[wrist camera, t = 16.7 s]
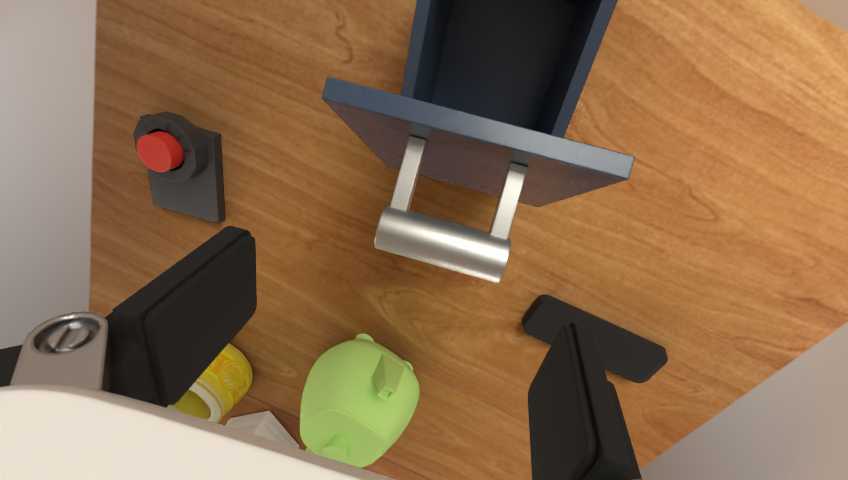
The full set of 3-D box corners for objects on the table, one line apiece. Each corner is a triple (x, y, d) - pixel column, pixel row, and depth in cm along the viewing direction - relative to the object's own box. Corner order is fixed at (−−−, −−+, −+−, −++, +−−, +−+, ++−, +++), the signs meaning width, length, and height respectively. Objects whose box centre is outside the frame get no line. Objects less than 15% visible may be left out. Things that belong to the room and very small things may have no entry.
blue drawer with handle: (326, 75, 13) (285, 228, 14) (636, 156, 13) (588, 315, 13) (389, 154, 27) (368, 230, 27) (541, 196, 26) (518, 273, 26)
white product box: (228, 416, 63) (156, 516, 50) (270, 408, 60) (203, 512, 47) (260, 452, 66) (200, 554, 54) (301, 446, 63) (247, 554, 50)
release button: (148, 126, 38) (133, 130, 36) (182, 136, 38) (168, 140, 36) (153, 161, 40) (139, 166, 38) (186, 171, 39) (173, 176, 38)
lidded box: (451, -38, 29) (428, -66, 21) (591, -5, 29) (625, -20, 20) (418, 127, 36) (389, 158, 27) (532, 158, 35) (539, 199, 26)
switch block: (147, 101, 40) (121, 106, 37) (220, 121, 39) (199, 128, 36) (161, 200, 45) (140, 211, 43) (225, 219, 45) (208, 231, 42)
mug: (273, 380, 57) (220, 459, 46) (218, 391, 60) (158, 465, 50) (221, 311, 52) (149, 382, 42) (166, 328, 56) (87, 396, 45)
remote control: (518, 320, 44) (640, 377, 44) (518, 330, 42) (644, 390, 42) (541, 288, 42) (670, 349, 41) (541, 298, 40) (675, 361, 40)
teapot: (369, 291, 46) (326, 373, 35) (459, 354, 47) (444, 451, 37) (297, 376, 55) (245, 461, 44) (374, 425, 57) (342, 519, 46)
